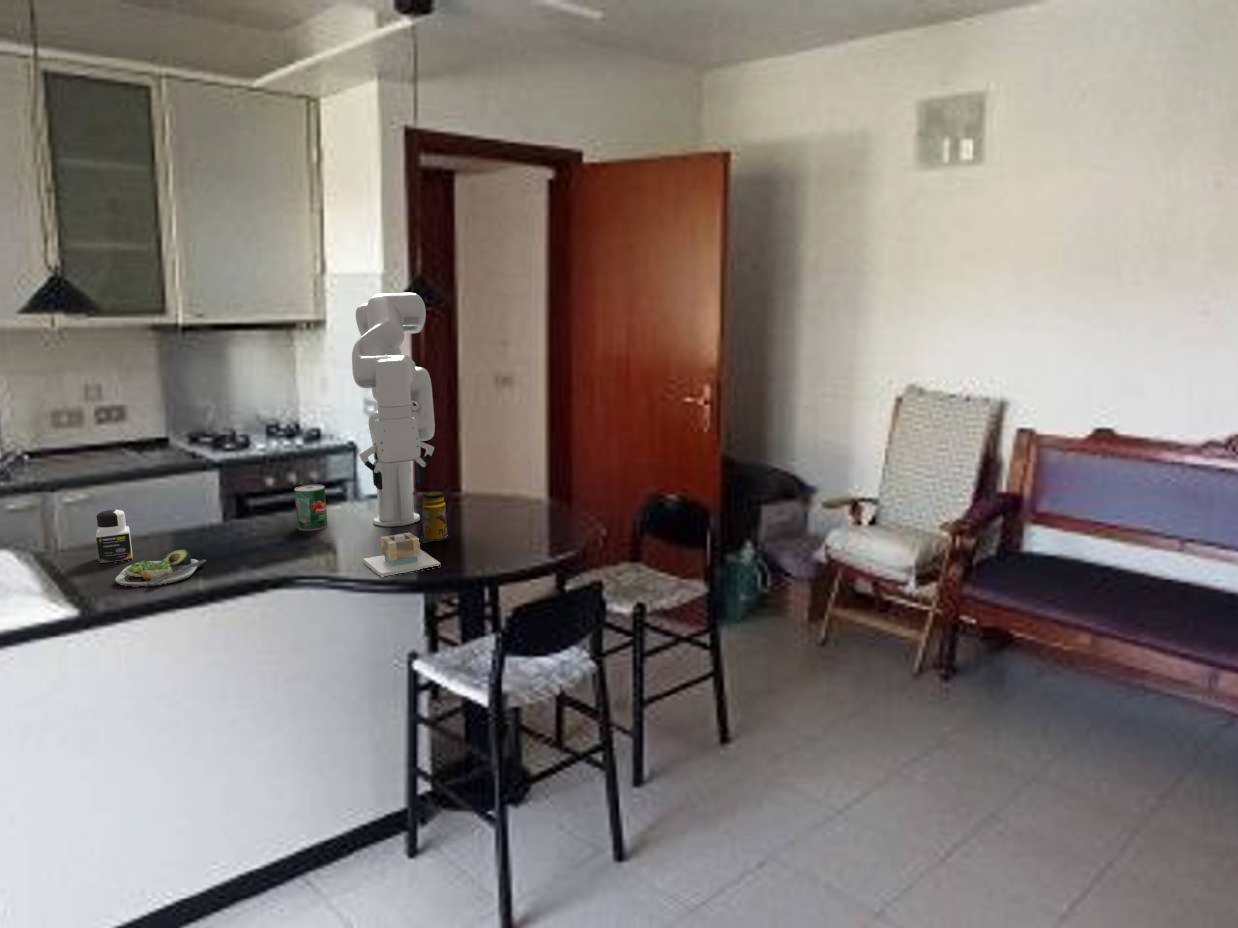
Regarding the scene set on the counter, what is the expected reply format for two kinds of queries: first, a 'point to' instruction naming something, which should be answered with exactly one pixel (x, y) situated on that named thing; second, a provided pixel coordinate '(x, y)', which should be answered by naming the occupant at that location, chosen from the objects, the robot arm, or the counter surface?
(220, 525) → the counter surface
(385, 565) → the post block
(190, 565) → the salad plate
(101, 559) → the medicine bottle
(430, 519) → the condiment
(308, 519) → the canned tomato
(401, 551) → the collar
